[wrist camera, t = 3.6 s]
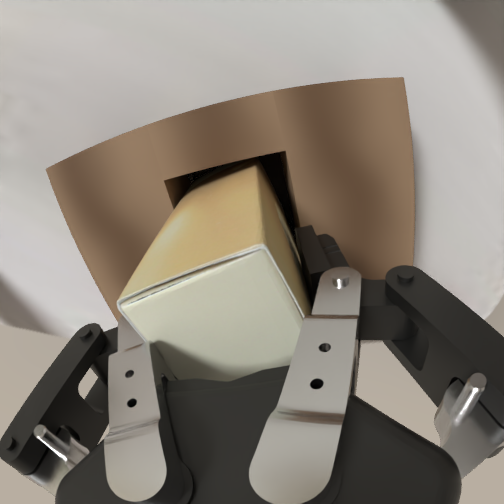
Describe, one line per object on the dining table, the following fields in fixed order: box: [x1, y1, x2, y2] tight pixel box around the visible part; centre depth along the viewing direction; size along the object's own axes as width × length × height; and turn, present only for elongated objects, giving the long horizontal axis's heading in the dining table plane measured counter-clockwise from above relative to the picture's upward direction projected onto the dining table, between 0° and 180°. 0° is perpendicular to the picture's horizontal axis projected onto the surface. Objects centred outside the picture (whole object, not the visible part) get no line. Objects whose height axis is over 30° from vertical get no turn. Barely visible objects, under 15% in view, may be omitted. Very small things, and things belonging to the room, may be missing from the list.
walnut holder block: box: [46, 77, 415, 321], centre depth 17 cm, size 18×13×4 cm
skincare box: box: [117, 156, 313, 381], centre depth 13 cm, size 6×4×12 cm
